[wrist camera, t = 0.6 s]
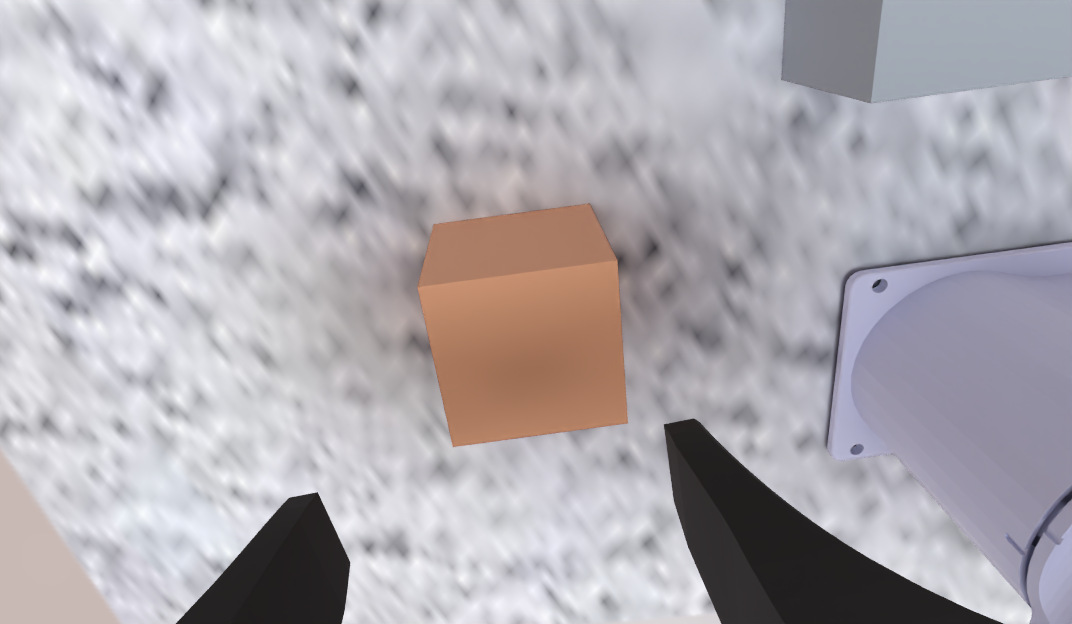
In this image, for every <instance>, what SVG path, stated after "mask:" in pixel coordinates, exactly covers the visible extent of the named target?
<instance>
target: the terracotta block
mask: <svg viewBox="0 0 1072 624" xmlns="http://www.w3.org/2000/svg"><path fill="white" fill-rule="evenodd" d="M418 292H419V296H420V301H421V305H422V310H423V314H424V319H425V323H426V328H427V332H428V337H429V341H430V346H431V350H432V355H433V359H434V364H435V368H436V373H437V377H438V382H439V386H440V391H441V395H442V400H443V404H444V409H445V413H446V418H447V422H448V427H449V431H450V436H451V440H452V445H453V447H456V446H464V445H471V444H479V443H486V442H493V441H501V440H508V439H515V438H523V437H530V436H537V435H545V434H552V433H560V432H567V431H574V430H582V429H589V428H596V427H604V426H611V425H619V424H626V423H628V418H627V403H626V387H625V371H624V356H623V340H622V325H621V309H620V294H619V278H618V262H617V259H616V257H615V254H614V252H613V250H612V248H611V246H610V244H609V242H608V240H607V238H606V236H605V234H604V232H603V230H602V228H601V226H600V224H599V222H598V220H597V218H596V216H595V214H594V212H593V210H592V208H591V206H590V204H582V205H575V206H567V207H560V208H552V209H545V210H537V211H530V212H523V213H515V214H508V215H500V216H493V217H485V218H478V219H470V220H463V221H455V222H448V223H440V224H434V225H433V229H432V233H431V237H430V241H429V244H428V248H427V252H426V256H425V260H424V264H423V268H422V272H421V275H420V279H419V283H418Z"/></svg>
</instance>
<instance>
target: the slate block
mask: <svg viewBox="0 0 1072 624" xmlns="http://www.w3.org/2000/svg"><path fill="white" fill-rule="evenodd" d="M1064 77H1072V0H786V3H785V21H784V40H783V58H782V77H781V80H785V81H789V82H793V83H796V84H800V85H804V86H808V87H811V88H815V89H819V90H823V91H827V92H830V93H834V94H838V95H842V96H845V97H849V98H853V99H857V100H860V101H864V102H868V103H877V102H884V101H892V100H899V99H907V98H914V97H922V96H929V95H937V94H944V93H952V92H959V91H967V90H974V89H982V88H989V87H997V86H1004V85H1012V84H1019V83H1027V82H1034V81H1042V80H1049V79H1057V78H1064Z"/></svg>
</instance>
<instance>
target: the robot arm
mask: <svg viewBox="0 0 1072 624" xmlns="http://www.w3.org/2000/svg"><path fill="white" fill-rule="evenodd" d="M879 279H881V282H880V284H879V285H878V286H877V287H875V288H872V286H873V284H874V282H875V281H877V280H879ZM664 429H665V436H666V444H667V452H668V459H669V467H670V474H671V482H672V490H673V497H674V502H675V506H676V509H677V512H678V516H679V519H680V522H681V526H682V529H683V532H684V535H685V538H686V541H687V545H688V548H689V550H690V552H691V555H692V557H693V559H694V562H695V564H696V566H697V569H698V571H699V573H700V575H701V578H702V580H703V582H704V585H705V587H706V589H707V592H708V594H709V596H710V599H711V601H712V603H713V605H714V608H715V610H716V612H717V615H718V617H719V619H720V621H721V624H1003V623H1001V622H998V621H996V620H993V619H991V618H988V617H986V616H984V615H981V614H979V613H976V612H974V611H972V610H969V609H967V608H965V607H963V606H961V605H959V604H956V603H954V602H952V601H950V600H948V599H946V598H944V597H942V596H940V595H937V594H935V593H933V592H931V591H929V590H927V589H925V588H923V587H921V586H919V585H917V584H915V583H913V582H911V581H910V580H908V579H906V578H904V577H902V576H900V575H899V574H897V573H895V572H893V571H891V570H890V569H888V568H886V567H884V566H882V565H880V564H879V563H877V562H875V561H873V560H871V559H869V558H868V557H866V556H865V555H863V554H861V553H860V552H858V551H856V550H855V549H853V548H852V547H850V546H848V545H847V544H845V543H844V542H842V541H841V540H839V539H837V538H836V537H834V536H833V535H831V534H830V533H828V532H827V531H825V530H824V529H822V528H821V527H820V526H818V525H817V524H815V523H814V522H812V521H811V520H810V519H808V518H807V517H806V516H804V515H803V514H801V513H800V512H799V511H798V510H796V509H795V508H794V507H792V506H791V505H790V504H788V503H787V502H786V501H785V500H783V499H782V498H781V497H779V496H778V495H777V494H776V493H775V492H773V491H772V490H771V489H770V488H768V487H767V486H766V485H765V484H764V483H763V482H761V481H760V480H759V479H758V478H757V477H756V476H755V475H753V474H752V473H751V472H750V471H749V470H748V469H746V468H745V467H744V466H743V465H742V464H741V463H740V462H739V461H738V460H737V459H735V458H734V457H733V456H732V455H731V454H730V453H729V452H728V451H727V450H726V449H725V448H724V447H723V446H722V445H721V444H720V443H719V442H718V441H717V440H716V439H715V438H714V437H713V436H712V435H711V434H710V433H709V432H708V431H707V430H706V429H705V428H704V426H703V425H702V424H701V423H700V422H699V421H697V420H695V419H689V420H684V421H679V422H674V423H669V424H664ZM857 444H858V445H857ZM854 445H857V446H856V447H854V448H852V447H853V446H854ZM827 449H828V452H829V453H830V455H831V456H832V457H833V458H834V459H835V460H840V461H843V460H850V459H858V458H865V457H872V456H880V455H887V454H894V455H895V456H896V457H897V458H898V459H899V460H900V462H901V463H902V464H903V465H904V466H905V467H906V468H907V469H908V471H909V472H910V473H911V474H912V475H913V476H914V477H915V478H916V480H917V481H918V482H919V483H920V484H921V485H922V486H923V487H924V488H925V490H926V491H927V492H928V493H929V494H930V495H931V496H932V497H933V499H934V500H935V501H936V502H937V503H938V504H939V505H940V506H941V508H942V509H943V510H944V511H945V512H946V513H947V514H948V515H949V517H950V518H951V519H952V520H953V521H954V522H955V523H956V524H957V525H958V527H959V528H960V529H961V530H962V531H963V532H964V533H965V534H966V536H967V537H968V538H969V539H970V540H971V541H972V542H973V543H974V545H975V546H976V547H977V548H978V549H979V550H980V551H981V552H982V553H983V555H984V556H985V557H986V558H987V559H988V560H989V561H990V562H991V564H992V565H993V566H994V567H995V568H996V569H997V570H998V571H999V573H1000V574H1001V575H1002V576H1003V577H1004V578H1005V579H1006V580H1007V582H1008V583H1009V584H1010V585H1011V586H1012V587H1013V588H1014V589H1015V590H1016V592H1017V593H1018V594H1019V595H1020V596H1021V597H1022V598H1023V599H1024V601H1025V602H1026V603H1027V604H1028V605H1029V606H1030V607H1031V608H1032V617H1031V620H1030V623H1029V624H1072V242H1069V243H1062V244H1054V245H1047V246H1039V247H1032V248H1025V249H1017V250H1010V251H1002V252H995V253H987V254H980V255H972V256H965V257H958V258H950V259H943V260H935V261H928V262H920V263H913V264H906V265H898V266H891V267H883V268H876V269H868V270H861V271H858V272H855V273H854V274H853V275H851V276H850V277H849V279H848V280H847V283H846V286H845V294H844V303H843V312H842V321H841V330H840V339H839V348H838V356H837V365H836V374H835V383H834V392H833V401H832V410H831V418H830V427H829V436H828V445H827ZM349 569H350V561H349V559H348V557H347V554H346V552H345V550H344V548H343V546H342V544H341V541H340V539H339V537H338V535H337V533H336V531H335V529H334V526H333V524H332V522H331V520H330V518H329V516H328V514H327V511H326V509H325V507H324V505H323V503H322V501H321V498H320V496H319V494H318V492H317V493H312V494H306V495H301V496H296V497H291V498H289V499H288V500H287V501H286V502H285V503H284V504H283V505H282V506H281V507H280V508H279V509H278V510H277V511H276V513H275V514H274V515H273V516H272V517H271V518H270V519H269V521H268V522H267V523H266V524H265V525H264V526H263V527H262V529H261V530H260V531H259V532H258V533H257V534H256V536H255V537H254V538H253V539H252V540H251V541H250V543H249V544H248V545H247V546H246V547H245V548H244V550H243V551H242V552H241V553H240V554H239V555H238V556H237V558H236V559H235V560H234V561H233V562H232V563H231V564H230V566H229V567H228V568H227V569H226V570H225V571H224V572H223V574H222V575H221V576H220V577H219V578H218V579H217V580H216V581H215V583H214V584H213V585H212V586H211V587H210V588H209V589H208V590H207V591H206V592H205V593H204V594H203V595H202V596H201V597H200V599H199V600H198V601H197V602H196V603H195V604H194V605H193V606H192V607H191V608H190V609H189V610H188V611H187V612H186V613H185V615H184V616H183V617H182V618H181V619H180V620H179V621H178V622H177V623H176V624H341V623H342V619H343V615H344V610H345V603H346V596H347V588H348V579H349Z"/></svg>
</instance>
